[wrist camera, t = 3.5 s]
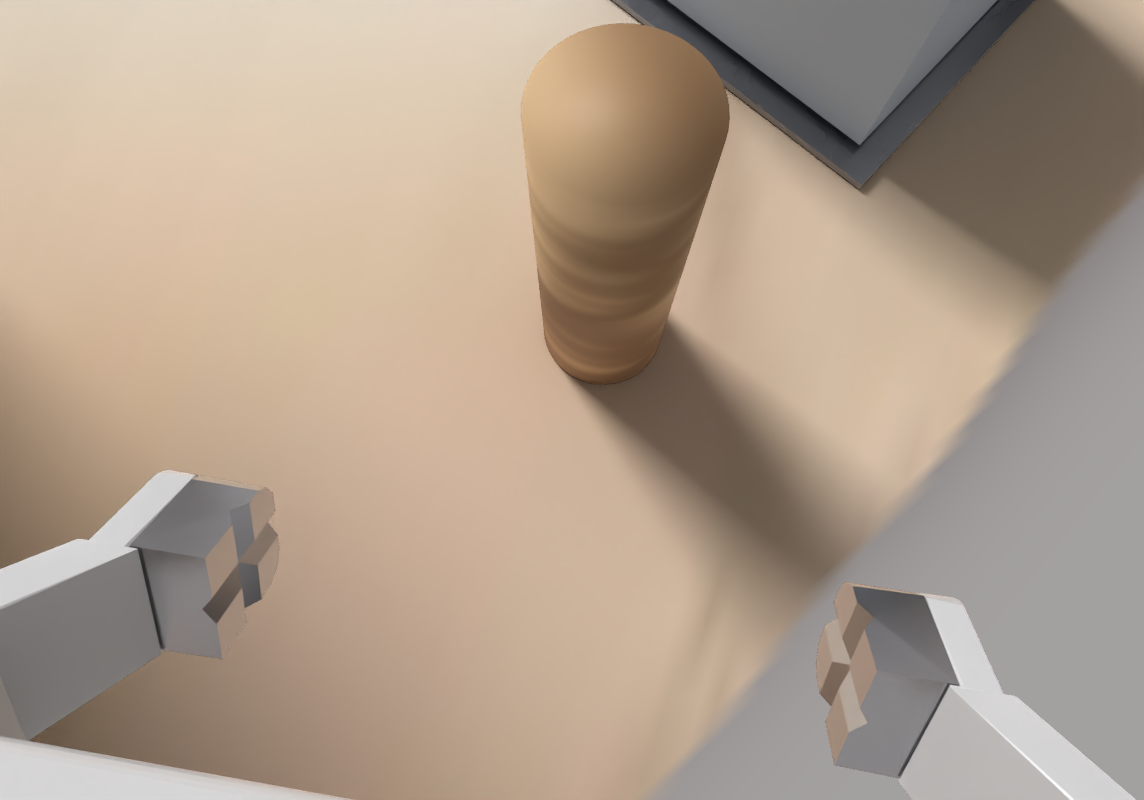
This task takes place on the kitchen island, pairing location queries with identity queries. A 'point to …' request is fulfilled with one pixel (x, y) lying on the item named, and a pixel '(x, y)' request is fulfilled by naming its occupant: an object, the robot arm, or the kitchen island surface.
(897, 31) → the socket block
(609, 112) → the dowel
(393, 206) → the kitchen island surface
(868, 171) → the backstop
